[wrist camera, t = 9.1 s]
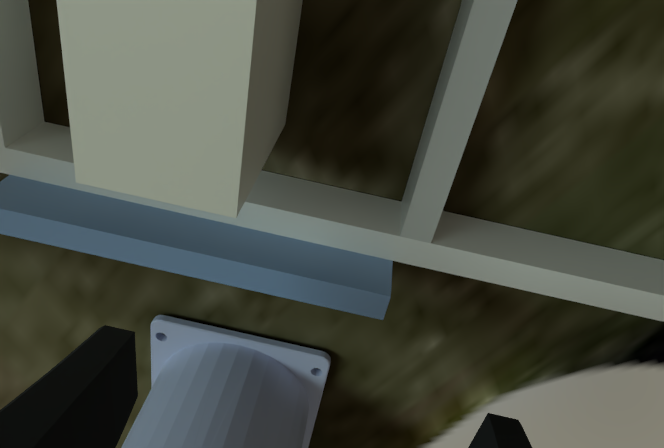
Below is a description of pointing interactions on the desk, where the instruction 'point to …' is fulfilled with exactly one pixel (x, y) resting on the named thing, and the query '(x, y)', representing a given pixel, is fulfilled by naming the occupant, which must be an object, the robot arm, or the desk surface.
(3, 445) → the robot arm
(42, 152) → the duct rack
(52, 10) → the desk surface
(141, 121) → the cream rectangular block
